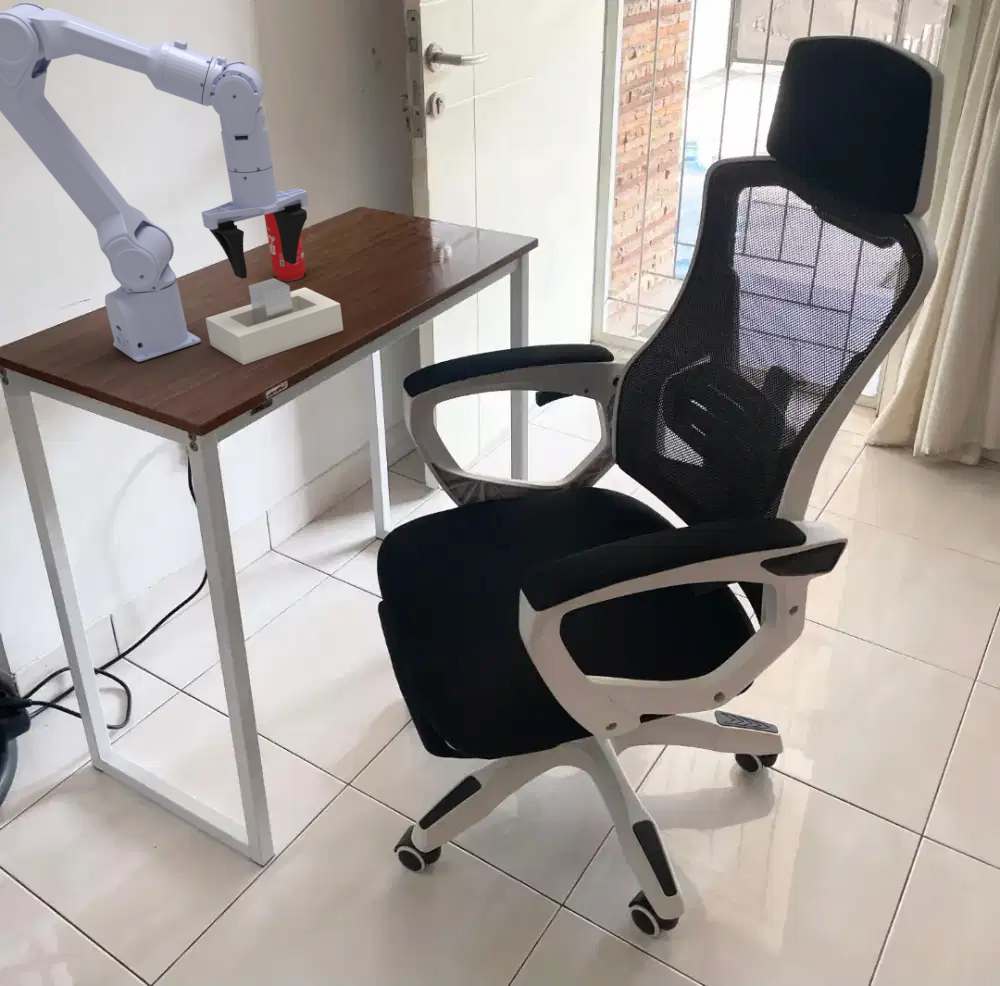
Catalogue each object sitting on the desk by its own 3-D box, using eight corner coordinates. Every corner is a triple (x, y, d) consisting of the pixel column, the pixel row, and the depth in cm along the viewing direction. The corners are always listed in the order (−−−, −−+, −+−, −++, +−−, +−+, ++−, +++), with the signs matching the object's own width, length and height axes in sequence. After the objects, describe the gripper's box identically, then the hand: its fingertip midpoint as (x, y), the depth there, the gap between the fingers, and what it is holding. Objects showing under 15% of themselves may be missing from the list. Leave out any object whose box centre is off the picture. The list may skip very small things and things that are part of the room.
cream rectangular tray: (243, 364, 133) (238, 337, 131) (210, 345, 139) (205, 318, 137) (343, 330, 142) (340, 303, 140) (308, 313, 148) (305, 287, 146)
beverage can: (299, 282, 159) (288, 207, 152) (269, 280, 160) (257, 205, 153) (311, 271, 163) (301, 197, 157) (281, 269, 164) (270, 196, 158)
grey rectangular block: (271, 341, 138) (263, 293, 134) (256, 333, 141) (248, 285, 137) (296, 333, 140) (289, 285, 137) (281, 325, 143) (273, 278, 139)
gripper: (213, 184, 122) (232, 290, 129) (315, 161, 130) (327, 262, 137) (186, 173, 126) (206, 277, 134) (286, 152, 134) (299, 250, 142)
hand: (266, 269), depth 136 cm, fingers open, 7 cm apart
